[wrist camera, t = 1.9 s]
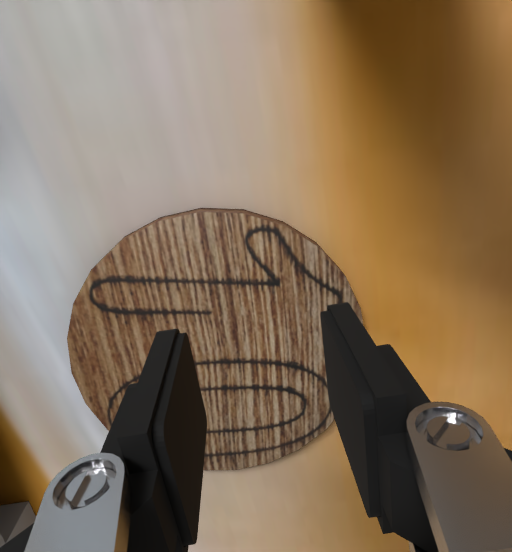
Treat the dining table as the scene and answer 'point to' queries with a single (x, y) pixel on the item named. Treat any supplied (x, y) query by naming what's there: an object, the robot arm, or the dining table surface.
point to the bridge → (14, 520)
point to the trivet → (216, 326)
